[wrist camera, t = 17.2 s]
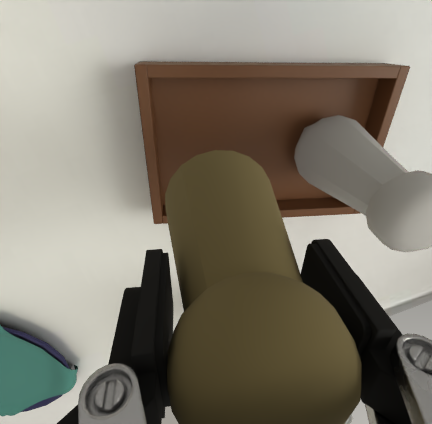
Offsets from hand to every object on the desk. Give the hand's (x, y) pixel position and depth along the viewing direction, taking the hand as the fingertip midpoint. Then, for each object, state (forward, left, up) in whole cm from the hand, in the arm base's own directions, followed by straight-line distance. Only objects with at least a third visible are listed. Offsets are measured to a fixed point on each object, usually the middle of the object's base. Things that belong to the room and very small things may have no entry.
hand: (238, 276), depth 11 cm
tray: (-5, 0, -16) cm, 17 cm away
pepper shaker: (0, 0, -6) cm, 6 cm away
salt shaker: (-10, 0, -16) cm, 18 cm away
